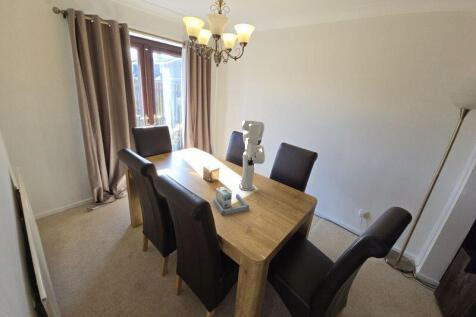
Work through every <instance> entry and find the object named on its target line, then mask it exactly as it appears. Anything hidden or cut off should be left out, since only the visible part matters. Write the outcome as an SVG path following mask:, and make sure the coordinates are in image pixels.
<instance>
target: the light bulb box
mask: <svg viewBox="0 0 476 317" xmlns="http://www.w3.org/2000/svg"><path fill="white" fill-rule="evenodd" d="M232 196H233V193H232V191H231V190H229V189H228V188H226V187H225V186H221V187H216V189H215V198H216V199H217V201H218V202H219V203H220V205H221V206H222V208H223V209H227V208H230V207H231V206H232V198H233V197H232Z"/></svg>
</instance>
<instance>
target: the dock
mask: <svg viewBox="0 0 476 317" xmlns="http://www.w3.org/2000/svg"><path fill="white" fill-rule="evenodd" d="M235 199H236V200H237V201H238V202H239V203H240V204H241V205H240V206H233V207H228V208H222V206H221V205H220V203H219V202H218V201H217V199H216V197H213V199H212V202H213V204H214V205H215V207H216V208H217V210H218V211H219V213H220V214H221V216H224V215H225V216H226V215H230V214H235V213H239V212H244V211H248V210H249V209H250V205H249V204H248V203H247V202H246V200H244V198H243V197H241V195H240V194H239V193H237V194H236V195H235Z"/></svg>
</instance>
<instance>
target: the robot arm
mask: <svg viewBox="0 0 476 317" xmlns="http://www.w3.org/2000/svg"><path fill="white" fill-rule="evenodd" d="M241 130H242V131H243V133H242V142H243V143H244V152H243V154H242V174H241V179H240V184H239V185H238V187H239V189H240V190H242V191H245V192H246V191H247V192H250V191H253V190H254V189H255V186H254V184H253V183H254V176H255V166H254V164H256V165H262V164H264V163H265V161H266V155H265V147H264V146H263V145H261V144H259V141H261V140H262V139H263V135H264V131H265V123H264V122H263V121H258V120H257V121H255V120H243V121H242V124H241Z"/></svg>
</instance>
